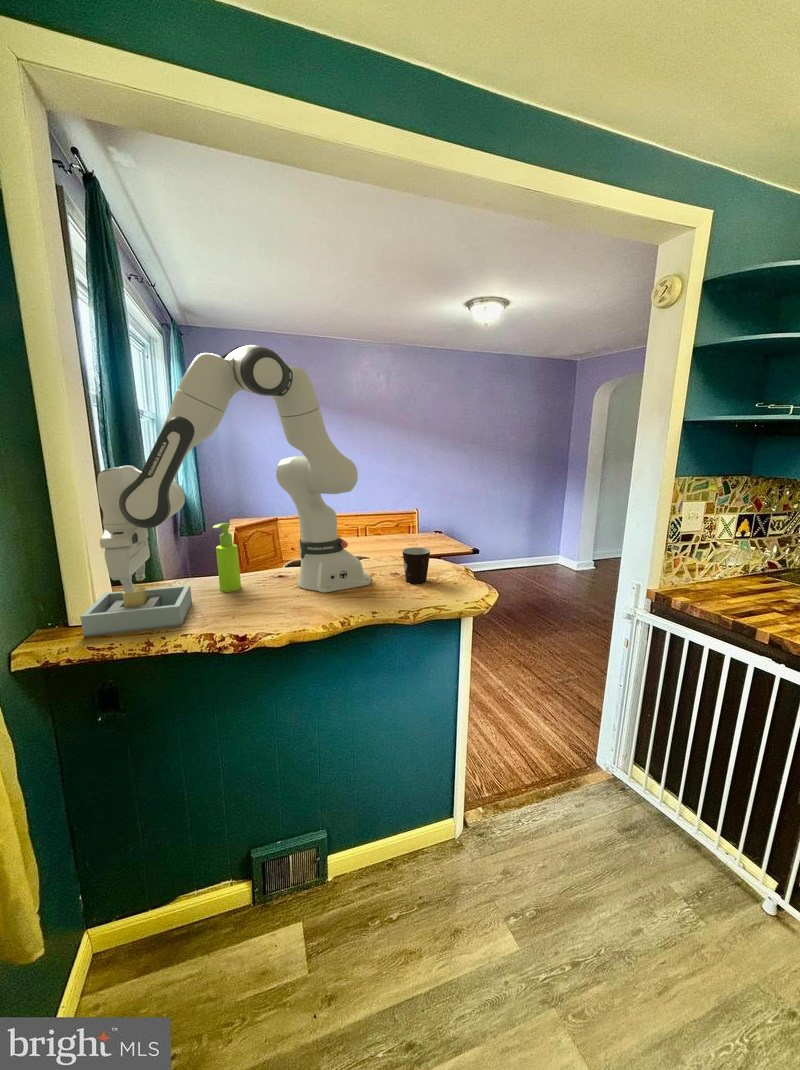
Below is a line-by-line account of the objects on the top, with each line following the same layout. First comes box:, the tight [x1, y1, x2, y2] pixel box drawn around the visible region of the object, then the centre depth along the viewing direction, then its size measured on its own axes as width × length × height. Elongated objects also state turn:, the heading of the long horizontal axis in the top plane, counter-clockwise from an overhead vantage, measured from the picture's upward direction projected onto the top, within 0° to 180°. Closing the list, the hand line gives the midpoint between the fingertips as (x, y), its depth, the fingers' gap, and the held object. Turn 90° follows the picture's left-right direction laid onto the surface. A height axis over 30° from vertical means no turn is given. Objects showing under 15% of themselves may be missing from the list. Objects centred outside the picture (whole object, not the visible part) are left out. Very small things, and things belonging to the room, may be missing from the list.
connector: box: [122, 586, 147, 607], centre depth 107 cm, size 4×4×6 cm
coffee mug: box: [402, 546, 431, 585], centre depth 131 cm, size 12×9×10 cm
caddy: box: [80, 584, 193, 638], centre depth 106 cm, size 20×16×5 cm
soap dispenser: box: [212, 522, 242, 593], centre depth 125 cm, size 6×7×20 cm
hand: (135, 585), depth 108 cm, fingers open, 8 cm apart
